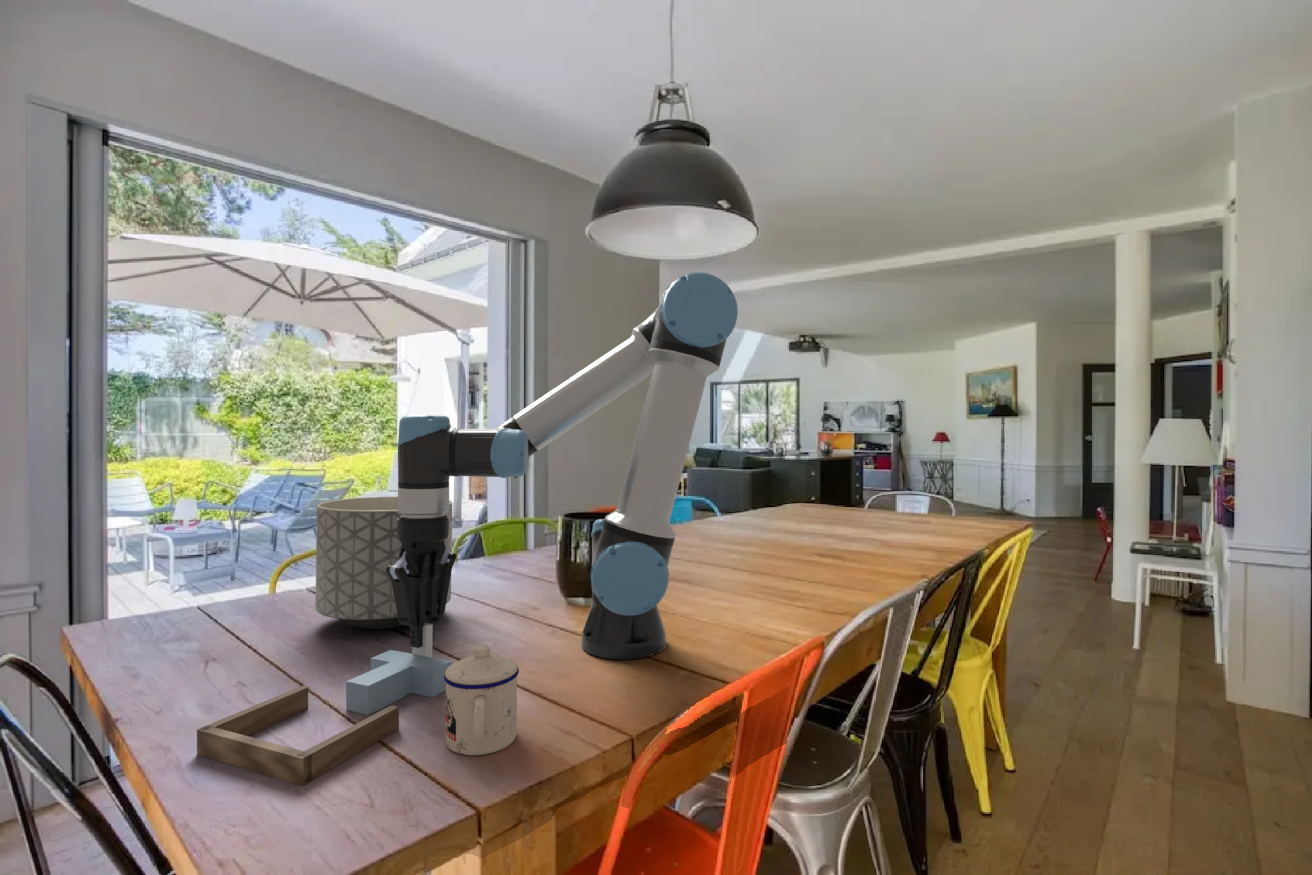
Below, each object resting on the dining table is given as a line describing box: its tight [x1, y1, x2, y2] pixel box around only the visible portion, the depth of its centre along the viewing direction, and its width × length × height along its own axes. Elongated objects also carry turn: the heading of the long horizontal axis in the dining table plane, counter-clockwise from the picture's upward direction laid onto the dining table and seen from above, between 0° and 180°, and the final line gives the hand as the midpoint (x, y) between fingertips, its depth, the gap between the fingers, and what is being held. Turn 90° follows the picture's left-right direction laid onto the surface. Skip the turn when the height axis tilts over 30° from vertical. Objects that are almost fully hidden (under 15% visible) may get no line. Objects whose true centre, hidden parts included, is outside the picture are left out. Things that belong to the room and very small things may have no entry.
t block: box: [345, 649, 452, 716], centre depth 94 cm, size 12×12×4 cm
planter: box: [314, 495, 453, 630], centre depth 129 cm, size 25×25×24 cm
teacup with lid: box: [444, 645, 520, 756], centre depth 80 cm, size 12×9×12 cm
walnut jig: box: [196, 685, 400, 787], centre depth 80 cm, size 17×14×3 cm
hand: (422, 665), depth 100 cm, fingers closed
